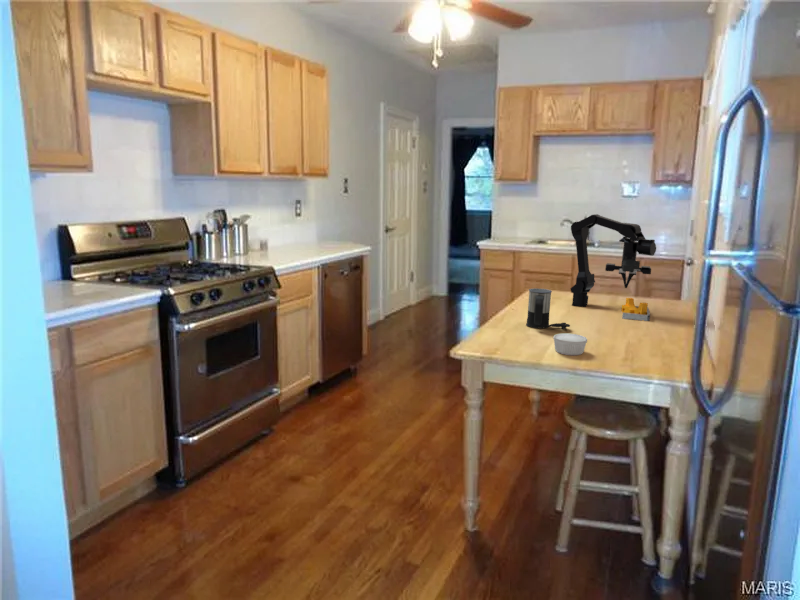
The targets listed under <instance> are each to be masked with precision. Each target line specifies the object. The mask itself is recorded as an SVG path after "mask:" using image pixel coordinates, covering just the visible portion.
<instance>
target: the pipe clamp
mask: <svg viewBox="0 0 800 600" xmlns="http://www.w3.org/2000/svg"><path fill="white" fill-rule="evenodd" d="M648 305H649V303H647V302H639V305H638V306H639V307H638V308H636V307H635V306H636V305H635V299H634V298H633V297H626V298H625V304H622V305H621V311H622V313H634V314H644V315H647V307H648V308H649V306H648ZM621 311H620V312H621Z"/></svg>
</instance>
